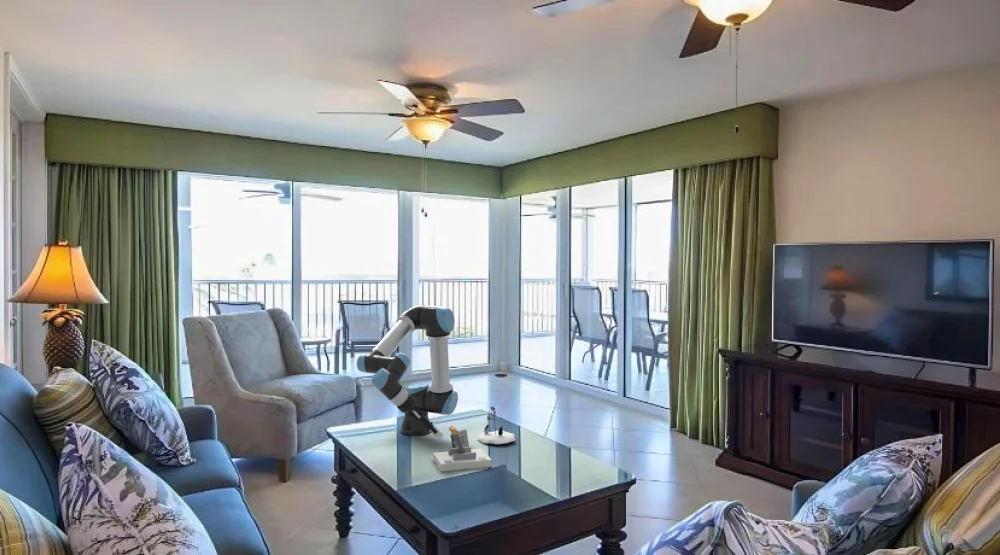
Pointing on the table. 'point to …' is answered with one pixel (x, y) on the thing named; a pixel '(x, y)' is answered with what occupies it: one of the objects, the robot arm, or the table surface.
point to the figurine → (495, 433)
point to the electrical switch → (461, 439)
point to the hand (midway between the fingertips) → (440, 437)
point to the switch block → (461, 459)
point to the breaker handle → (456, 439)
